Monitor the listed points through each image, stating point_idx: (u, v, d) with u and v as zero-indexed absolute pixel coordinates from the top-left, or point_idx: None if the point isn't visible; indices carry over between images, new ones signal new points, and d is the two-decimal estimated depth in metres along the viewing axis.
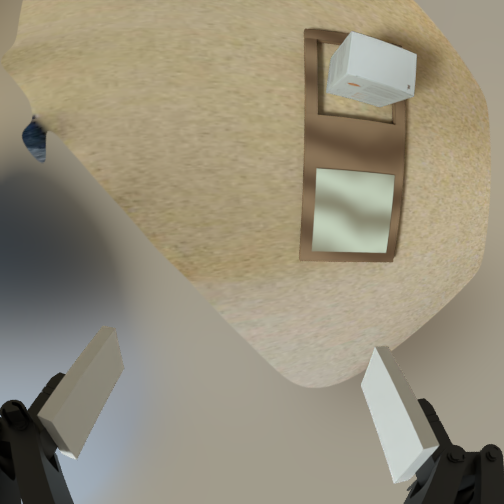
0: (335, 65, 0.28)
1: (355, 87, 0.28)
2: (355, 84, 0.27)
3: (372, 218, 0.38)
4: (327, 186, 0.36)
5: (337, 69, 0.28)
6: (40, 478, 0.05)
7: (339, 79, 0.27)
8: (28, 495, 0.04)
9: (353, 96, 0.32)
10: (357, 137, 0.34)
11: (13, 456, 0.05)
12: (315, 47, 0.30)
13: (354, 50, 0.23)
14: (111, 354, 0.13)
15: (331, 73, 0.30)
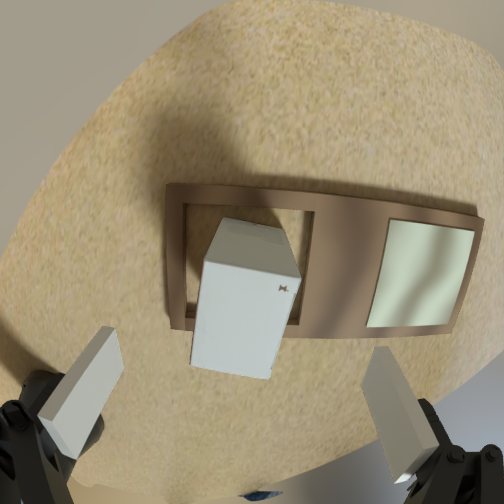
0: None
1: None
2: None
3: (436, 254, 0.25)
4: (389, 314, 0.27)
5: None
6: (39, 478, 0.05)
7: None
8: (28, 495, 0.04)
9: None
10: (333, 275, 0.26)
11: (13, 456, 0.05)
12: None
13: (226, 368, 0.18)
14: (111, 354, 0.13)
15: None
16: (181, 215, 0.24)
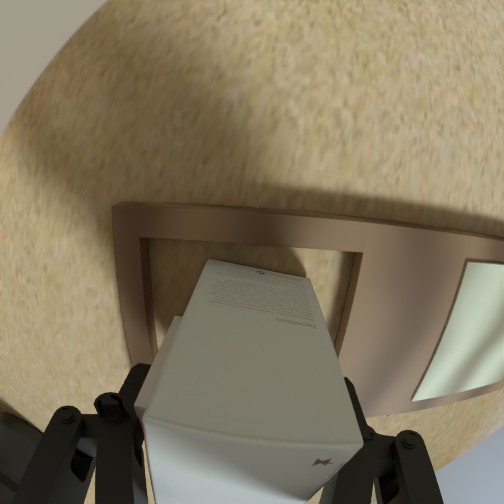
0: None
1: None
2: None
3: None
4: (443, 383, 0.17)
5: None
6: (124, 476, 0.06)
7: None
8: (104, 491, 0.05)
9: None
10: (380, 345, 0.16)
11: (98, 448, 0.07)
12: None
13: None
14: None
15: None
16: (138, 257, 0.14)
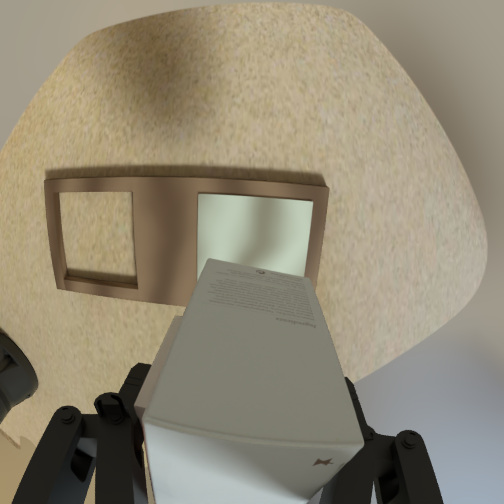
0: None
1: None
2: None
3: (260, 226, 0.29)
4: None
5: None
6: (124, 476, 0.06)
7: None
8: (104, 491, 0.05)
9: None
10: (156, 246, 0.30)
11: (98, 448, 0.07)
12: (71, 282, 0.32)
13: None
14: None
15: None
16: (53, 201, 0.28)
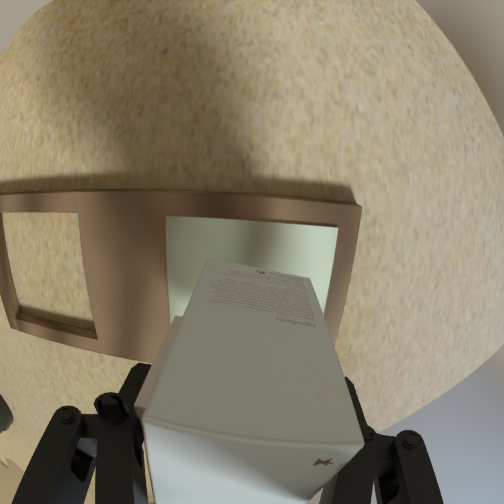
0: None
1: None
2: None
3: (259, 264, 0.19)
4: None
5: None
6: (124, 476, 0.06)
7: None
8: (104, 491, 0.05)
9: None
10: (113, 287, 0.20)
11: (98, 448, 0.07)
12: (23, 322, 0.22)
13: None
14: None
15: None
16: None
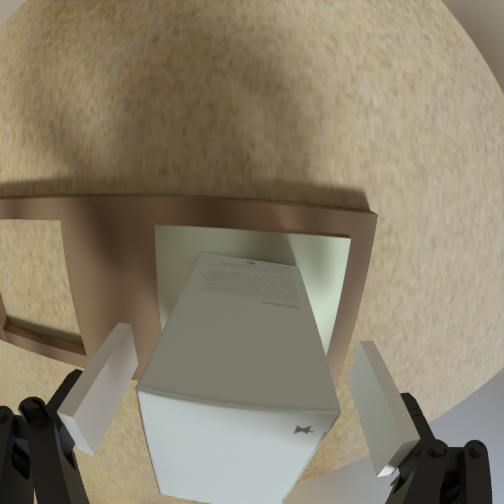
0: None
1: None
2: None
3: None
4: None
5: None
6: (56, 476, 0.05)
7: None
8: (43, 493, 0.04)
9: None
10: (100, 302, 0.18)
11: (30, 453, 0.06)
12: (11, 334, 0.20)
13: (213, 501, 0.09)
14: (127, 350, 0.13)
15: None
16: None
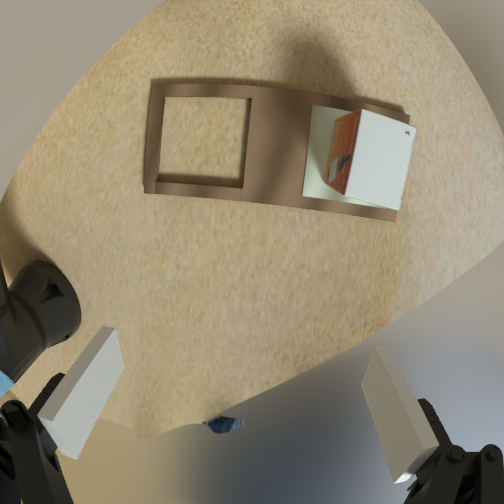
0: None
1: None
2: None
3: None
4: (323, 186, 0.33)
5: None
6: (40, 478, 0.05)
7: None
8: (28, 495, 0.04)
9: None
10: (268, 146, 0.33)
11: (13, 456, 0.05)
12: (165, 184, 0.35)
13: (371, 196, 0.23)
14: (111, 354, 0.13)
15: None
16: (160, 103, 0.31)
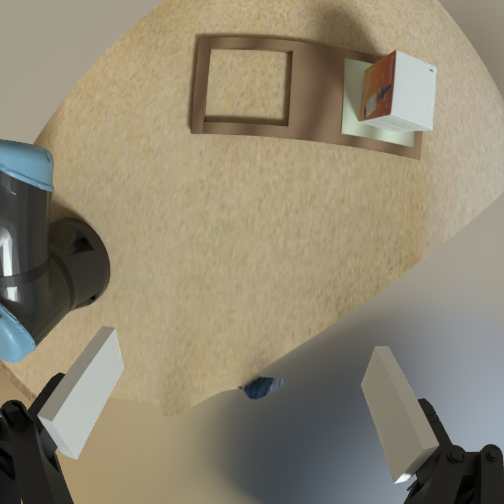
0: (389, 125, 0.30)
1: None
2: None
3: None
4: (358, 125, 0.35)
5: (401, 127, 0.29)
6: (40, 478, 0.05)
7: (419, 130, 0.27)
8: (28, 495, 0.04)
9: None
10: (310, 90, 0.33)
11: (13, 456, 0.05)
12: (213, 123, 0.35)
13: (411, 116, 0.24)
14: (111, 354, 0.13)
15: (387, 127, 0.32)
16: (208, 53, 0.32)
